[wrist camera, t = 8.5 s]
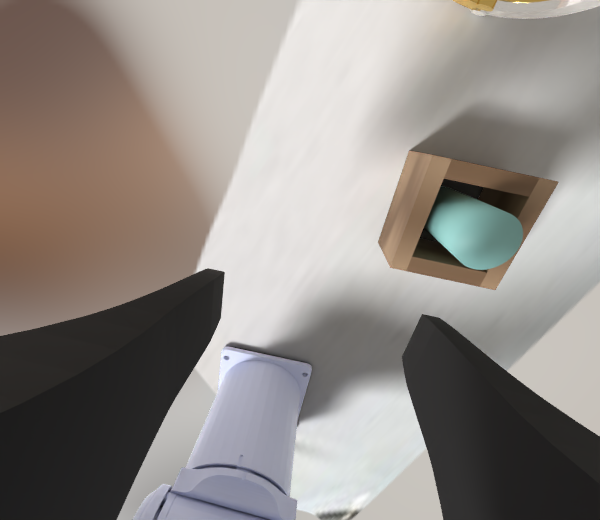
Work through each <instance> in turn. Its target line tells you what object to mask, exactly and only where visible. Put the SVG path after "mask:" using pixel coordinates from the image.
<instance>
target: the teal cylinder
mask: <svg viewBox="0 0 600 520" xmlns="http://www.w3.org/2000/svg"><path fill="white" fill-rule="evenodd" d="M424 228H425V229H426V230H427V231H428V232H429V233H430V234H431V235H432V236H434V237H435V238H436V239H437V240H438V241H439V242H440V243H441V244H442V245H443V246H444V247H445V248H446V249H447V250H448V251H449V252H450V253H451V254H453V255H454V256H455V257H456V258H457V259H458V260H459V261H460V262H461V263H462V264H463V265H465V266H466V267H469V268H472V269H476V270H486V269H491V268H495V267H497V266H499V265H501V264H503V263H505V262H506V261H508V260H509V259H510V258H511V257H512V256H513V255H514V254H515V253H516V252H517V250H518V249H519V247H520V245H521V242H522V239H523V228H522V225H521V223H520V221H519V220H518V219H517V218H516V217H515V216H513V215H512V214H510V213H508V212H505V211H503V210H501V209H498V208H496V207H494V206H491V205H489V204H487V203H484V202H482V201H480V200H477V199H475V198H473V197H470V196H468V195H465V194H463V193H461V192H458V191H456V190H454V189H451V188H449V187H440V189H439V191H438V194H437V196H436V199H435V201H434V204H433V206H432V209H431V211H430V214H429V216H428V218H427V221H426V223H425V226H424Z"/></svg>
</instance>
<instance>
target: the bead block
mask: <svg viewBox="0 0 600 520" xmlns="http://www.w3.org/2000/svg"><path fill="white" fill-rule="evenodd" d="M443 179H448V180H453V181H458V182H462V183H467V184H472V185H476V186H481V187H484V188H483V190H482V192H481V194H480V196H479V198H478V200H480V201H482V202H484V203H487V204H489V205H491V206H494V207H496V208H498V209H501V210H503V211H505V212H508V213H510V214H512V215H513V216H515V217H516V218H517V219H518V220H519V221H520V223H521V225H522V228H523V239H522V242H521V245H520V247H521V246H522V244H523V242H524V240H525V239H526V237H527V235H528V234H529V232H530V230H531V228H532V227H533V225H534V223H535V222H536V220H537V218H538V217H539V215H540V213H541V211H542V210H543V208H544V206H545V205H546V203H547V201H548V199H549V198H550V196H551V194H552V193H553V191H554V189H555V188H556V186H557V184H558V182H557V181H552V180H548V179H543V178H538V177H534V176H529V175H524V174H520V173H515V172H510V171H506V170H501V169H496V168H492V167H487V166H482V165H478V164H473V163H468V162H464V161H459V160H454V159H450V158H445V157H440V156H436V155H431V154H425V153H420V152H414V151H409V153H408V156H407V159H406V162H405V165H404V167H403V170H402V173H401V176H400V179H399V182H398V185H397V188H396V191H395V194H394V197H393V200H392V203H391V206H390V209H389V212H388V214H387V217H386V220H385V223H384V226H383V229H382V232H381V235H380V238H379V241H378V243H379V245H380V247H381V249H382V251H383V253H384V256H385V258H386V260H387V262H388V264H389V266H390V268H395V269H399V270H404V271H409V272H413V273H418V274H423V275H427V276H432V277H437V278H441V279H446V280H451V281H455V282H460V283H465V284H469V285H474V286H479V287H483V288H488V289H493V290H496V288H497V286H498V285H499V283H500V281H501V280H502V278H503V276H504V274H505V273H506V271H507V269H508V268H509V266H510V264H511V263H512V261H513V259H514V257H515V256H516V254H517V252H518V251H519V249H520V247H519V249H518V250H517V252H516V253H515V254H514V255H513V256H512V257H511V258H510V259H509V260H508V261H506V262H505V263H503V264H501V265H499V266H497V267H495V268H491V269H486V270H476V269H472V268H469V267H466V266H465V265H463V264H462V263H461V262H460V261H459V260H458V259H457V258H456V257H455V256H454V255H453V254H451V253H450V252H449V251H448V250H447V249H446V248H445V247H444V246H443V245H442V244H441V243H440V242H436V241H431V240H426V239H422V238H420V236H421V233H422V231H423V228H424V226H425V223H426V221H427V218H428V216H429V214H430V211H431V209H432V206H433V204H434V201H435V199H436V196H437V194H438V191H439V189H440V187H441V184H442V182H443Z"/></svg>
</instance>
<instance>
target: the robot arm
mask: <svg viewBox="0 0 600 520" xmlns="http://www.w3.org/2000/svg"><path fill="white" fill-rule="evenodd" d="M224 273H225V272H222V271H217V270H213V269H205V270H203V271H200V272H198V273H196V274H193V275H191V276H189V277H187V278H185V279H183V280H180V281H178V282H176V283H174V284H172V285H169V286H167V287H165V288H163V289H160V290H158V291H155V292H153V293H150V294H148V295H146V296H143V297H140V298H138V299H135V300H133V301H130V302H127V303H125V304H122V305H119V306H116V307H113V308H110V309H107V310H104V311H100V312H97V313H94V314H91V315H88V316H84V317H80V318H76V319H73V320H68V321H64V322H60V323H57V324H52V325H48V326H44V327H40V328H37V329H32V330H27V331H23V332H18V333H13V334H8V335H4V336H0V520H116V519H117V517H118V515H119V513H120V511H121V509H122V506H123V504H124V502H125V499H126V497H127V495H128V493H129V491H130V489H131V486H132V484H133V482H134V480H135V478H136V476H137V474H138V472H139V470H140V467H141V465H142V463H143V461H144V459H145V457H146V455H147V453H148V451H149V448H150V446H151V444H152V442H153V440H154V438H155V436H156V434H157V432H158V430H159V428H160V426H161V424H162V422H163V420H164V418H165V416H166V414H167V412H168V410H169V408H170V407H171V405H172V403H173V401H174V400H175V398H176V396H177V395H178V393H179V391H180V390H181V388H182V387H183V385H184V383H185V382H186V380H187V378H188V377H189V375H190V374H191V372H192V370H193V369H194V367H195V366H196V364H197V362H198V361H199V359H200V357H201V356H202V354H203V353H204V351H205V349H206V348H207V346H208V344H209V343H210V341H211V339H212V336H213V334H214V332H215V330H216V328H217V325H218V323H219V321H220V318H221V308H222V296H223V284H224ZM227 356H228V357H227ZM402 359H403V366H404V372H405V378H406V383H407V387H408V390H409V393H410V397H411V400H412V403H413V406H414V409H415V413H416V416H417V419H418V422H419V425H420V428H421V431H422V434H423V438H424V441H425V444H426V447H427V450H428V453H429V457H430V460H431V464H432V468H433V472H434V477H435V481H436V486H437V491H438V495H439V499H440V504H441V509H442V514H443V520H600V436H598V435H596V434H595V433H593V432H592V431H590V430H589V429H587V428H586V427H584V426H582V425H581V424H579V423H578V422H576V421H575V420H573V419H572V418H570V417H569V416H567V415H566V414H565V413H563V412H562V411H560V410H559V409H557V408H556V407H554V406H553V405H551V404H550V403H548V402H547V401H546V400H544V399H543V398H541V397H540V396H539V395H537V394H536V393H534V392H533V391H532V390H530V389H529V388H528V387H526V386H525V385H524V384H523V383H521V382H520V381H518V380H517V379H516V378H515V377H513V376H512V375H511V374H509V373H508V372H507V371H506V370H504V369H503V368H502V367H501V366H499V365H498V364H497V363H495V362H494V361H493V360H492V359H491V358H489V357H488V356H487V355H486V354H484V353H483V352H482V351H481V350H480V349H478V348H477V347H476V346H475V345H473V344H472V343H471V342H470V341H469V340H467V339H466V338H465V337H464V336H463V335H461V334H460V333H459V332H458V331H456V330H455V329H454V328H453V327H451V326H450V325H449V324H447V323H446V322H444V321H443V320H441V319H440V318H437V317H432V316H428V315H423V314H422V316H421V318H420V320H419V322H418V324H417V326H416V329H415V331H414V333H413V335H412V337H411V339H410V341H409V343H408V345H407V348H406V350H405V352H404V354H403V356H402ZM311 372H312V366H311V365H310V364H308V363H303V362H299V361H294V360H289V359H285V358H280V357H275V356H271V355H266V354H261V353H257V352H252V351H247V350H243V349H238V348H233V347H228V346H226V347H224V348H223V350H222V352H221V362H220V373H219V384H218V392H217V395H216V397H215V399H214V402H213V404H212V406H211V409H210V411H209V414H208V416H207V418H206V421H205V423H204V425H203V428H202V430H201V432H200V435H199V437H198V439H197V442H196V444H195V447H194V449H193V451H192V454H191V456H190V458H189V461H188V463H187V465H186V468H185V467H182V468H181V469H180V472H179V474H178V476H177V479H176V481H175V483H174V485H173V488H172V486H171V485H167V484H162V485H160V486H159V487H158V489H156V490H154V491H153V492H151V493H150V494H149V495H147V497H146V498H145V499H144V501H143V502H142V504H141V505H140V507H139V508H138V510H137V512H136V514H135V515H134V517H133V519H132V520H296V508H297V500H296V499H293V498H290V487H291V478H292V468H293V458H294V448H295V438H296V429H297V420H298V417H299V413H300V410H301V406H302V403H303V400H304V396H305V393H306V389H307V386H308V383H309V379H310V376H311Z"/></svg>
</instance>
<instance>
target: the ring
mask: <svg viewBox="0 0 600 520" xmlns="http://www.w3.org/2000/svg"><path fill="white" fill-rule="evenodd" d="M453 1H455V2H457V3H458V4H460V5H463V6H465V7H467V8H469V9H470V12H471V13H473V14H475V15H478V16H486V14H487V15H492V16H497V17H504V18H514V19H537V18H549V17H556V16H563V15H568V14H573V13H577V12H581V11H585V10H589V9H592V8H595V7H598V6H600V0H453Z"/></svg>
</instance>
